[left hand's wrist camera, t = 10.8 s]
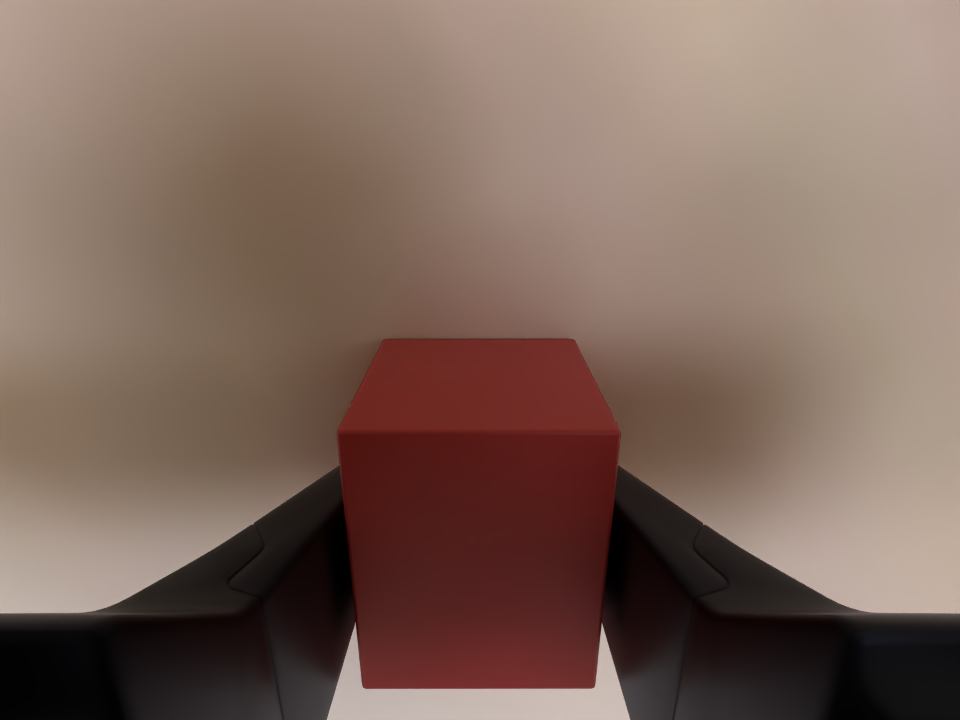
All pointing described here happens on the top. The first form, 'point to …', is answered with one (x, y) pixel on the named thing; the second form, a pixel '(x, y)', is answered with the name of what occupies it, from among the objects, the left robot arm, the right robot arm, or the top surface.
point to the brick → (478, 514)
